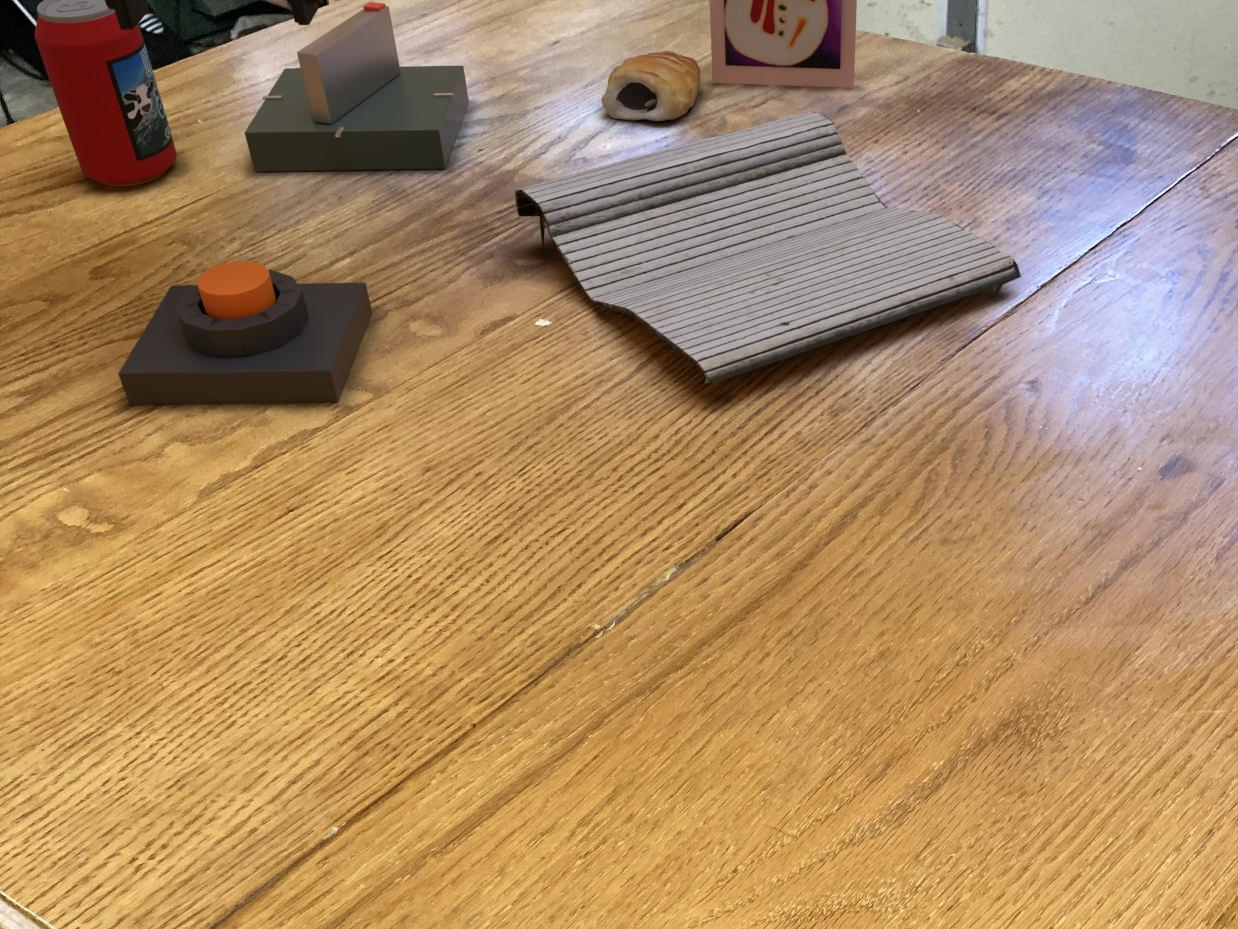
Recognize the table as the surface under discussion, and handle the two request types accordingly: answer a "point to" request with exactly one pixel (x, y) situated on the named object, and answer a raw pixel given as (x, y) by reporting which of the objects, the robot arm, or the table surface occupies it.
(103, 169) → the beverage can
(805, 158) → the mat
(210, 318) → the button box
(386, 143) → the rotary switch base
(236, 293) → the button
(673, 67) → the pastry
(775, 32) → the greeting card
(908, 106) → the table surface
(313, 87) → the grey rectangular slab
